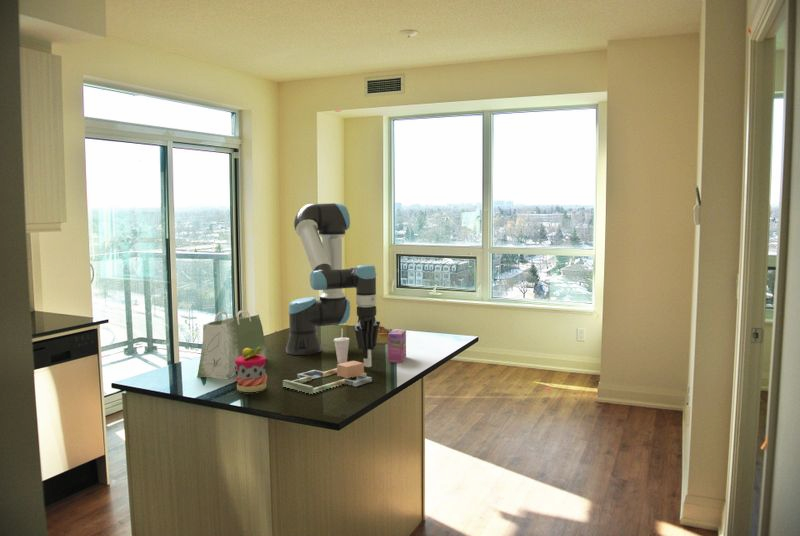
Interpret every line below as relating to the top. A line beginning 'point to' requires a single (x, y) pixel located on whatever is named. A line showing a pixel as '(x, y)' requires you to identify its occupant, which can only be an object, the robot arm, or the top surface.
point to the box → (397, 345)
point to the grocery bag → (229, 344)
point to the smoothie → (341, 348)
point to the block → (350, 369)
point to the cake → (251, 371)
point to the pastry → (382, 335)
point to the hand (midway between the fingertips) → (367, 366)
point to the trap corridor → (317, 374)
